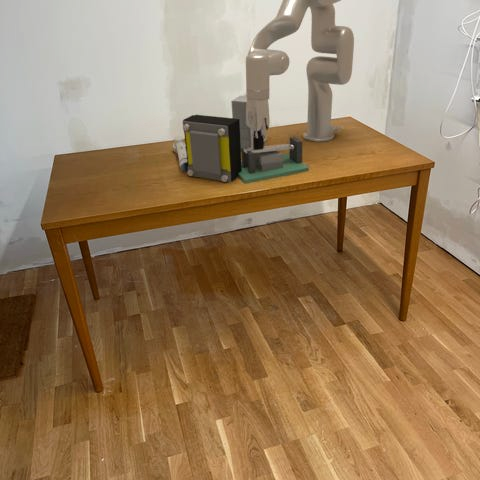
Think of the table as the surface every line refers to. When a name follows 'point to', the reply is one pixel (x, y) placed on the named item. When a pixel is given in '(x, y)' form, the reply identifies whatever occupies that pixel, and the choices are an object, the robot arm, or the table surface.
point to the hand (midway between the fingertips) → (258, 148)
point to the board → (273, 173)
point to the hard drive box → (243, 121)
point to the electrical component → (213, 147)
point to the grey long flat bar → (270, 148)
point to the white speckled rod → (181, 152)
